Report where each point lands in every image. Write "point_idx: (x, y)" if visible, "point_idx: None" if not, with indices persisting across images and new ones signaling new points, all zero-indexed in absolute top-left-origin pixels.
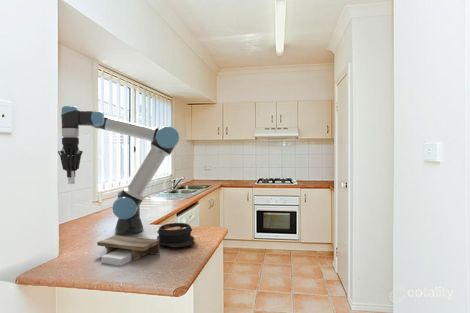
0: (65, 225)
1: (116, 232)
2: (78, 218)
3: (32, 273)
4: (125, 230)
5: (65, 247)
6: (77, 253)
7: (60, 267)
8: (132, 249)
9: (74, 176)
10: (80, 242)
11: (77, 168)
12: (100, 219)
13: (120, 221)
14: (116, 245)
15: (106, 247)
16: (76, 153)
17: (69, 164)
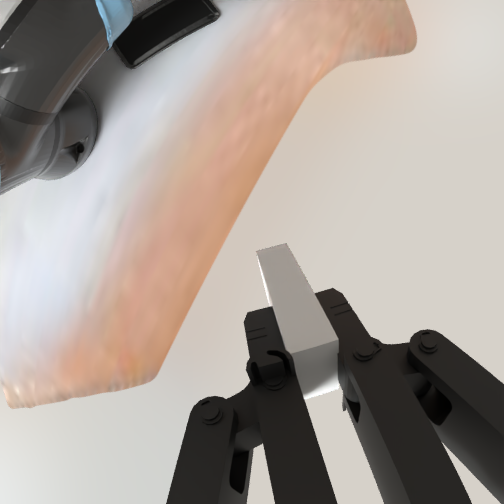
0: (159, 358)
1: (95, 132)
2: (112, 389)
3: (409, 35)
4: (82, 95)
5: (282, 124)
6: (296, 42)
7: (368, 6)
8: None
9: (257, 312)
10: (225, 133)
11: (220, 405)
12: (68, 341)
13: (68, 123)
14: None
15: (217, 13)
16: None
17: (428, 418)
